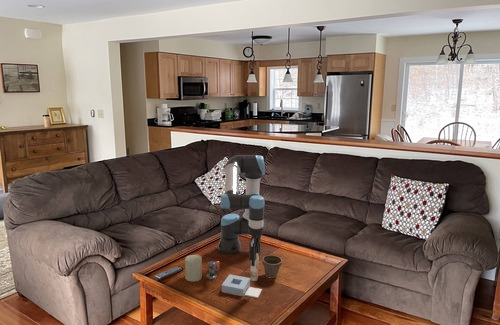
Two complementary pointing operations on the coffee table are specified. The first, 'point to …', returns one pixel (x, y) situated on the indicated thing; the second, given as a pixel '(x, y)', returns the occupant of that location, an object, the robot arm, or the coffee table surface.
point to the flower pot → (271, 265)
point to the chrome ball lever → (214, 265)
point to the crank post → (211, 274)
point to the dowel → (255, 274)
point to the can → (193, 267)
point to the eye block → (236, 285)
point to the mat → (253, 292)
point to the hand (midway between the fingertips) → (254, 269)
